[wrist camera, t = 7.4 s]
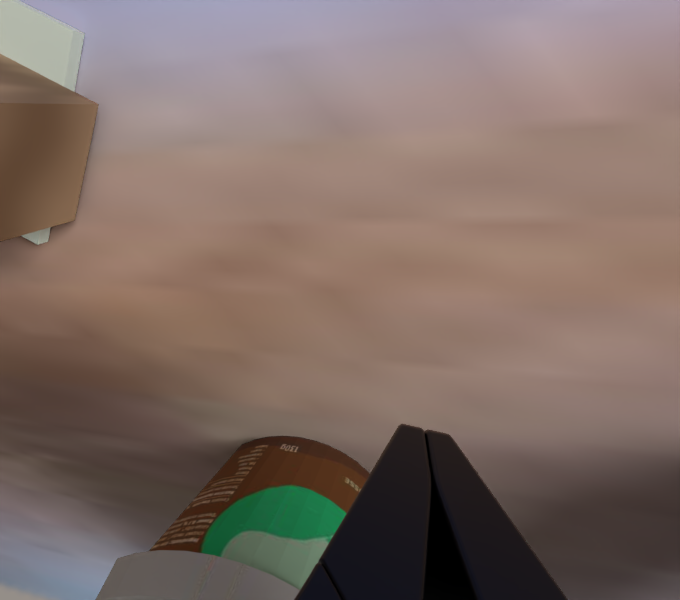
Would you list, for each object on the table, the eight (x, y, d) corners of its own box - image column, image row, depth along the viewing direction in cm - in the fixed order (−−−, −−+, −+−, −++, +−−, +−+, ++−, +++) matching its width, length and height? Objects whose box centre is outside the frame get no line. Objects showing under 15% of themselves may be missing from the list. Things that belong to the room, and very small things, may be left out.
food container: (469, 572, 23) (473, 865, 14) (363, 602, 26) (309, 870, 17) (324, 368, 21) (220, 561, 12) (223, 421, 24) (73, 615, 15)
